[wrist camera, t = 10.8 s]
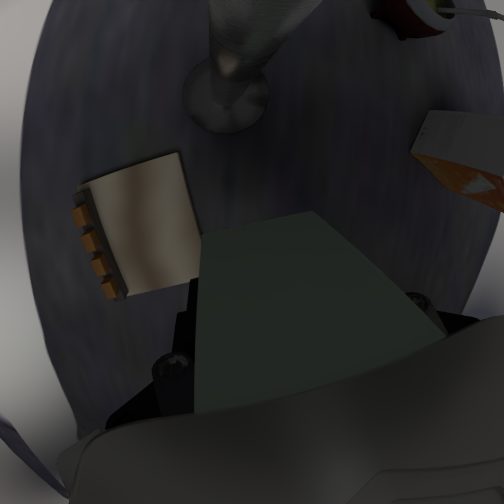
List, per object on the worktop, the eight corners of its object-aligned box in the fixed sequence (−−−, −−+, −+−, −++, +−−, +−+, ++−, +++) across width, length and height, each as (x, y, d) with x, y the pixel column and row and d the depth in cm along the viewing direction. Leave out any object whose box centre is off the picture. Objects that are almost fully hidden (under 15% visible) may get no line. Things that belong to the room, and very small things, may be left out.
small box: (407, 152, 26) (502, 177, 14) (428, 108, 24) (521, 116, 12) (445, 190, 28) (527, 226, 16) (464, 149, 26) (545, 172, 14)
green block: (312, 210, 12) (450, 340, 4) (320, 301, 15) (401, 445, 6) (201, 234, 12) (194, 419, 4) (227, 323, 14) (249, 491, 6)
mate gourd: (355, -11, 17) (443, -67, 4) (408, -5, 17) (496, -38, 4) (379, 47, 21) (490, 17, 7) (430, 48, 21) (530, 35, 7)
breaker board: (178, 151, 23) (172, 154, 20) (211, 271, 28) (211, 291, 25) (81, 184, 23) (63, 193, 19) (122, 292, 28) (112, 313, 24)
